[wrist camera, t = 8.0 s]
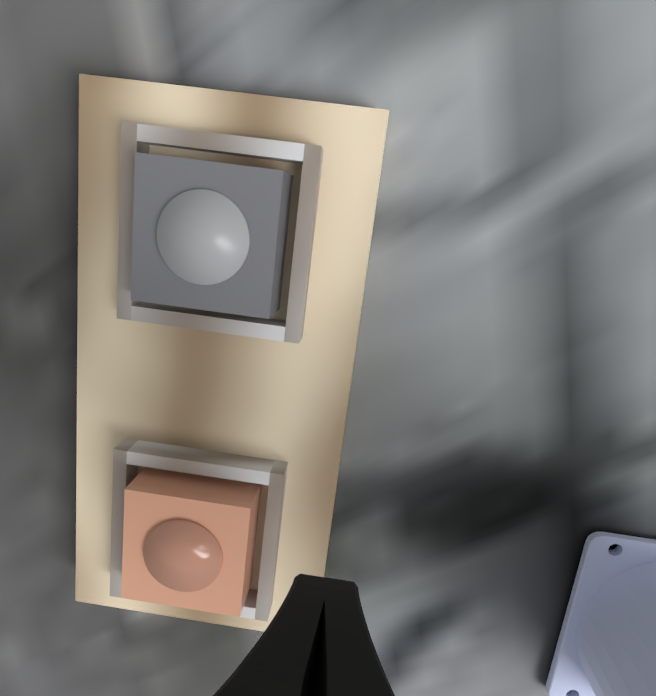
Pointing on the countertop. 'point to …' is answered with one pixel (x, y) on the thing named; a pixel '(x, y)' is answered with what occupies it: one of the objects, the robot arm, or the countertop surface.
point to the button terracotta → (189, 540)
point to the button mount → (220, 330)
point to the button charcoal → (209, 235)
